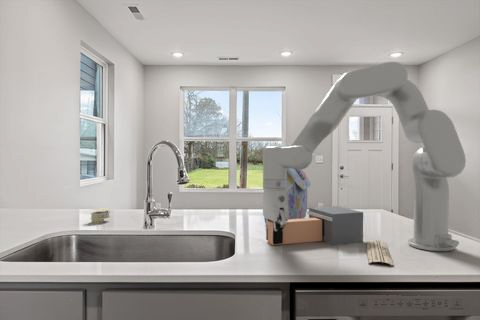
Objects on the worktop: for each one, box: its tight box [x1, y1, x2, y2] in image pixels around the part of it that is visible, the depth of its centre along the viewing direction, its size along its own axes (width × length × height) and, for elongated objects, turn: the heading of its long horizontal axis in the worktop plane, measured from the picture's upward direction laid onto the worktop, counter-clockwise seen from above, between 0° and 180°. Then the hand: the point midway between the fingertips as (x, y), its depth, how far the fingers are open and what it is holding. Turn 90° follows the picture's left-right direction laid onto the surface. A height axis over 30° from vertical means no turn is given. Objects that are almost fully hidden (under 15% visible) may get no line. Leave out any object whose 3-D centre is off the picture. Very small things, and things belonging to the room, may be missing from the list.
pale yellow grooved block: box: [89, 207, 111, 224], centre depth 146 cm, size 10×9×6 cm
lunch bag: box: [264, 168, 311, 224], centre depth 149 cm, size 22×17×26 cm
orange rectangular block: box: [267, 217, 323, 246], centre depth 114 cm, size 4×18×7 cm, turn 110°
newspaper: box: [365, 239, 394, 267], centre depth 101 cm, size 24×7×2 cm, turn 161°
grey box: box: [307, 205, 364, 245], centre depth 119 cm, size 14×13×10 cm
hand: (274, 241), depth 111 cm, fingers open, 4 cm apart
